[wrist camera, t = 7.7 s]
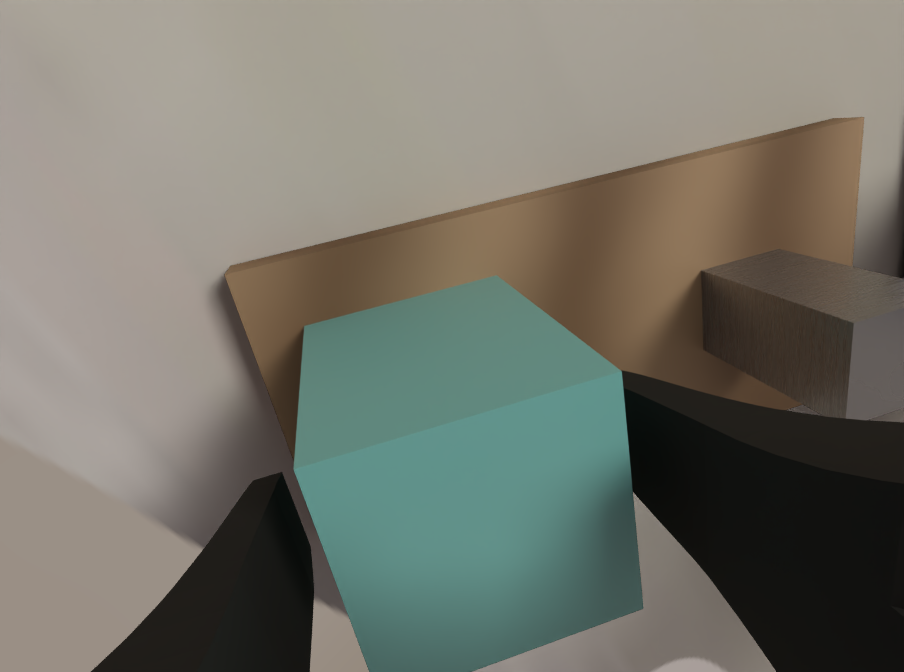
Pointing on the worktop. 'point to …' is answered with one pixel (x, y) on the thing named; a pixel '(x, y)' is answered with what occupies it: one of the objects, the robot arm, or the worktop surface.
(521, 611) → the aqua toy cube
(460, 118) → the worktop surface
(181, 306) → the worktop surface
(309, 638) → the robot arm
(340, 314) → the walnut board
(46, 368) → the worktop surface
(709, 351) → the post
